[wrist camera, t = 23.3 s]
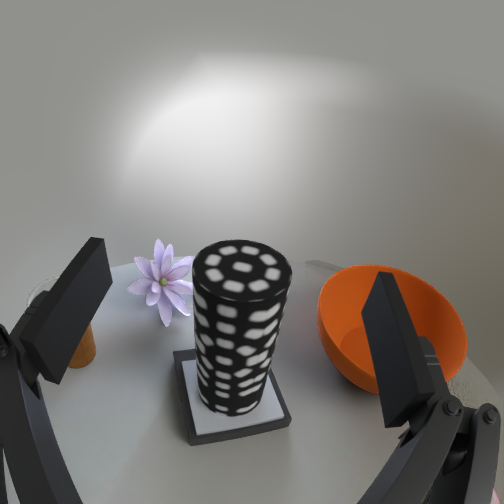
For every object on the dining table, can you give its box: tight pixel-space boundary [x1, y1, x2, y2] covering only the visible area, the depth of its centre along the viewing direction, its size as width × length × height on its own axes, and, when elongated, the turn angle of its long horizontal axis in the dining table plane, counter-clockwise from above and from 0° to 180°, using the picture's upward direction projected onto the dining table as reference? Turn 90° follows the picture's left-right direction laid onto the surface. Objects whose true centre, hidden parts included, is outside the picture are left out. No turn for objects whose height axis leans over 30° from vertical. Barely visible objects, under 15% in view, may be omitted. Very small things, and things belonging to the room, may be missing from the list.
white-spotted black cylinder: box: [192, 240, 292, 417], centre depth 32 cm, size 8×8×20 cm
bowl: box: [317, 265, 467, 395], centre depth 45 cm, size 25×25×10 cm
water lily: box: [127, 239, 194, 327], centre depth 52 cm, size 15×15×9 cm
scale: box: [173, 349, 292, 446], centre depth 39 cm, size 14×13×3 cm
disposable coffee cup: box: [27, 277, 96, 368], centre depth 38 cm, size 10×10×12 cm
